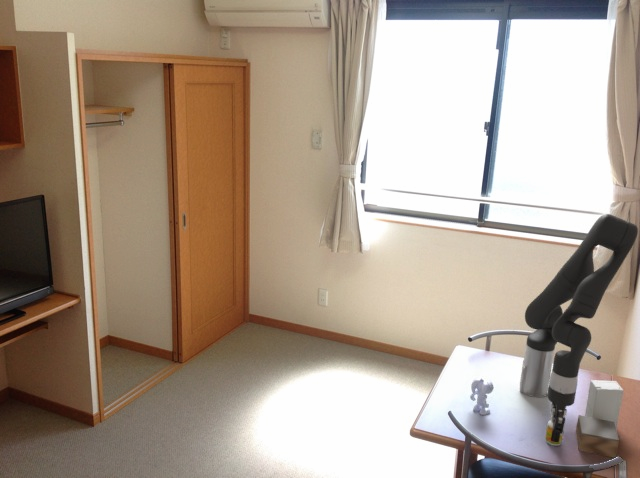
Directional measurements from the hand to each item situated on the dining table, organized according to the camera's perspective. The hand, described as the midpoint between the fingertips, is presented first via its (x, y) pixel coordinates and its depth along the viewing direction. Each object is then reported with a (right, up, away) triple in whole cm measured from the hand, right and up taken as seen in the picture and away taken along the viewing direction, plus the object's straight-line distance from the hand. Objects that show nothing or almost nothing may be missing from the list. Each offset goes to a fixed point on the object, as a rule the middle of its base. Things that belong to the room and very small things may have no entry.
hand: (554, 436), depth 179 cm
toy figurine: (-18, +3, +15) cm, 24 cm away
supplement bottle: (0, -2, +1) cm, 2 cm away
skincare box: (+18, 0, +10) cm, 21 cm away
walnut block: (+12, -3, 0) cm, 13 cm away
